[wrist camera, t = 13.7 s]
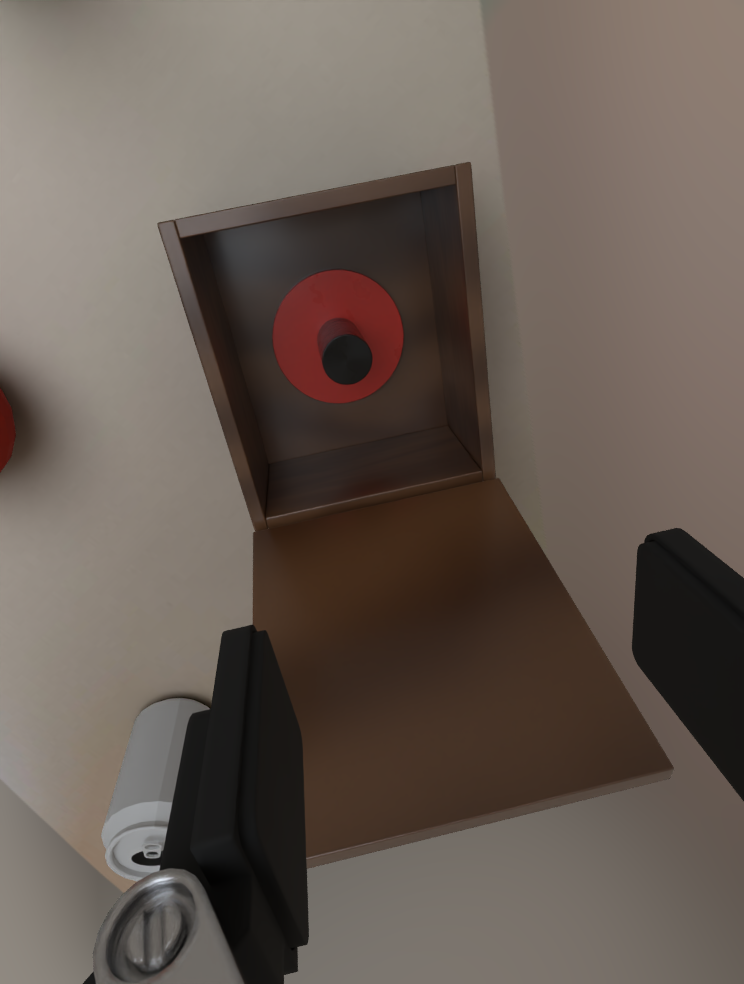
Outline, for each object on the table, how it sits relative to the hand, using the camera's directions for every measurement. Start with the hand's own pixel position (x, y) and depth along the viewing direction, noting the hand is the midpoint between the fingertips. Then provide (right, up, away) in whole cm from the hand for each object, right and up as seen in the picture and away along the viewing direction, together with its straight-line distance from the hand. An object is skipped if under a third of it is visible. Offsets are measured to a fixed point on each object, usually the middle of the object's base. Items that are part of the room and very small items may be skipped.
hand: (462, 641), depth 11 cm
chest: (-4, +13, +26) cm, 30 cm away
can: (-19, -18, +40) cm, 47 cm away
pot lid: (-4, +13, +26) cm, 29 cm away
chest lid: (0, -3, +15) cm, 15 cm away
